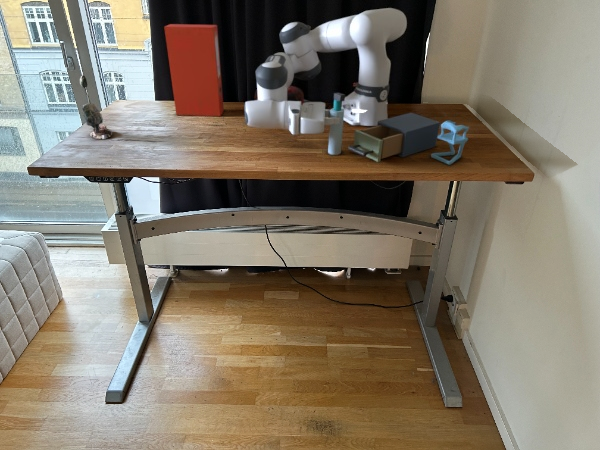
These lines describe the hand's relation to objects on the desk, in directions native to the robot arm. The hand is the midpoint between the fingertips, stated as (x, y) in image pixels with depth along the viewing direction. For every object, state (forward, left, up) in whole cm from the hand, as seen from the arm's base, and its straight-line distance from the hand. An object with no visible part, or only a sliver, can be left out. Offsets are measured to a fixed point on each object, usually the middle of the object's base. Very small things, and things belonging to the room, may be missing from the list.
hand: (339, 117), depth 134 cm
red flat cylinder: (-47, +9, -12) cm, 50 cm away
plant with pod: (-58, -59, -12) cm, 83 cm away
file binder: (-62, -19, -12) cm, 66 cm away
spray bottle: (-1, -1, -12) cm, 12 cm away
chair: (+24, +26, -12) cm, 37 cm away
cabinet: (+9, +23, -12) cm, 27 cm away
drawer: (+9, +10, -11) cm, 17 cm away
